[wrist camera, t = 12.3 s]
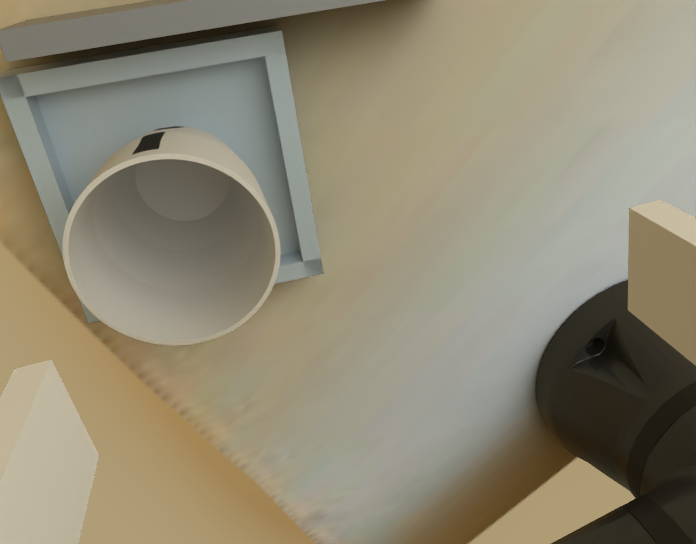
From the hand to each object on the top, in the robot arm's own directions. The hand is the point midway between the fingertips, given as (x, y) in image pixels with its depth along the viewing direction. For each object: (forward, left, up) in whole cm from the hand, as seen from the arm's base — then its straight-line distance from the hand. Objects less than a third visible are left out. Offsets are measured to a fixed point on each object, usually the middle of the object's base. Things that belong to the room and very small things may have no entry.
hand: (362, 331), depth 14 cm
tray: (-2, +5, -22) cm, 23 cm away
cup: (-2, +5, -21) cm, 22 cm away
